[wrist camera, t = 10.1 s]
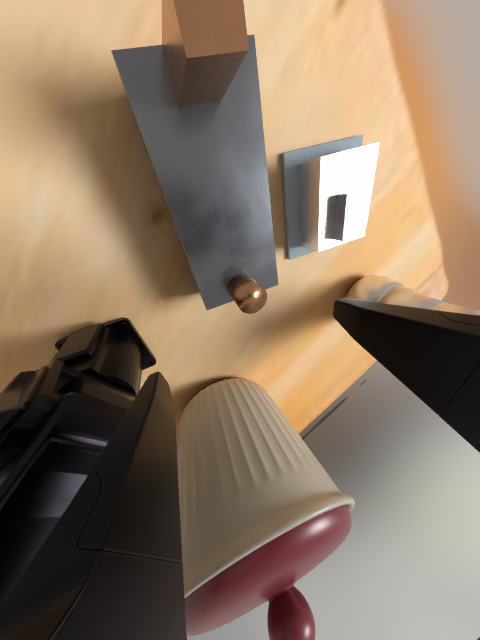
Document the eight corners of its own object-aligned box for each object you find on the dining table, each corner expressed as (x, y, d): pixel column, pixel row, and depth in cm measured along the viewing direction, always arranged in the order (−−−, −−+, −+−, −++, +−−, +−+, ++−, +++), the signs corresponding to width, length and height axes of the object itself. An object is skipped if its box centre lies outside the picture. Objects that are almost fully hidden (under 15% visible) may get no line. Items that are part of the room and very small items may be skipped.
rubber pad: (347, 238, 22) (349, 239, 22) (287, 258, 21) (289, 259, 21) (359, 136, 17) (362, 134, 17) (281, 154, 16) (284, 153, 16)
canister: (160, 448, 30) (155, 758, 13) (164, 362, 22) (169, 857, 5) (258, 426, 37) (336, 610, 20) (288, 355, 29) (458, 558, 12)
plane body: (260, 275, 21) (304, 305, 14) (200, 295, 20) (218, 339, 13) (231, 78, 13) (301, -55, 6) (125, 94, 12) (77, -49, 5)
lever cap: (341, 232, 21) (375, 237, 18) (299, 246, 20) (327, 254, 17) (349, 151, 17) (394, 137, 14) (297, 164, 16) (332, 153, 13)
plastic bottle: (338, 320, 29) (553, 460, 13) (338, 282, 25) (647, 416, 9) (372, 302, 30) (618, 415, 14) (377, 262, 26) (731, 355, 10)
